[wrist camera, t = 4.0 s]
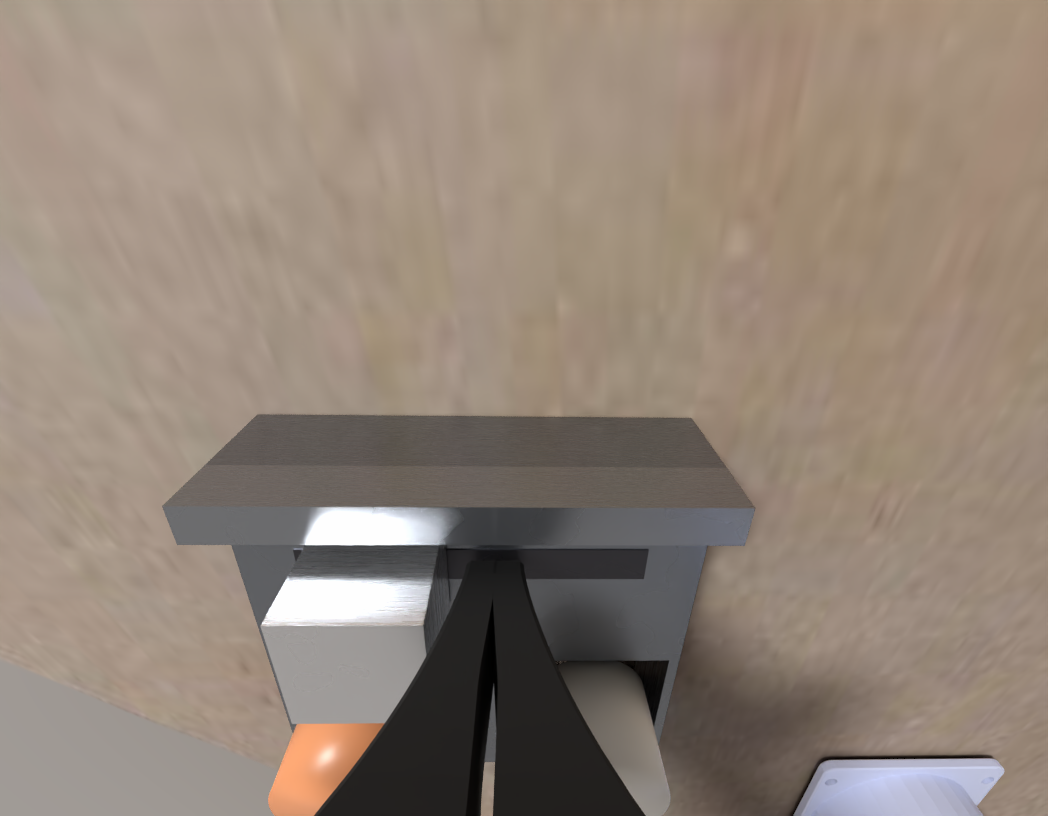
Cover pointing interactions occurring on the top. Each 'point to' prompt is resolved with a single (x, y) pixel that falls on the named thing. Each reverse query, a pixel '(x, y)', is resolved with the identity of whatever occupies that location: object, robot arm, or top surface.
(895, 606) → the top surface
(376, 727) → the orange button
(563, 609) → the panel
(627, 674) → the ivory button
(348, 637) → the slider knob
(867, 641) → the top surface
